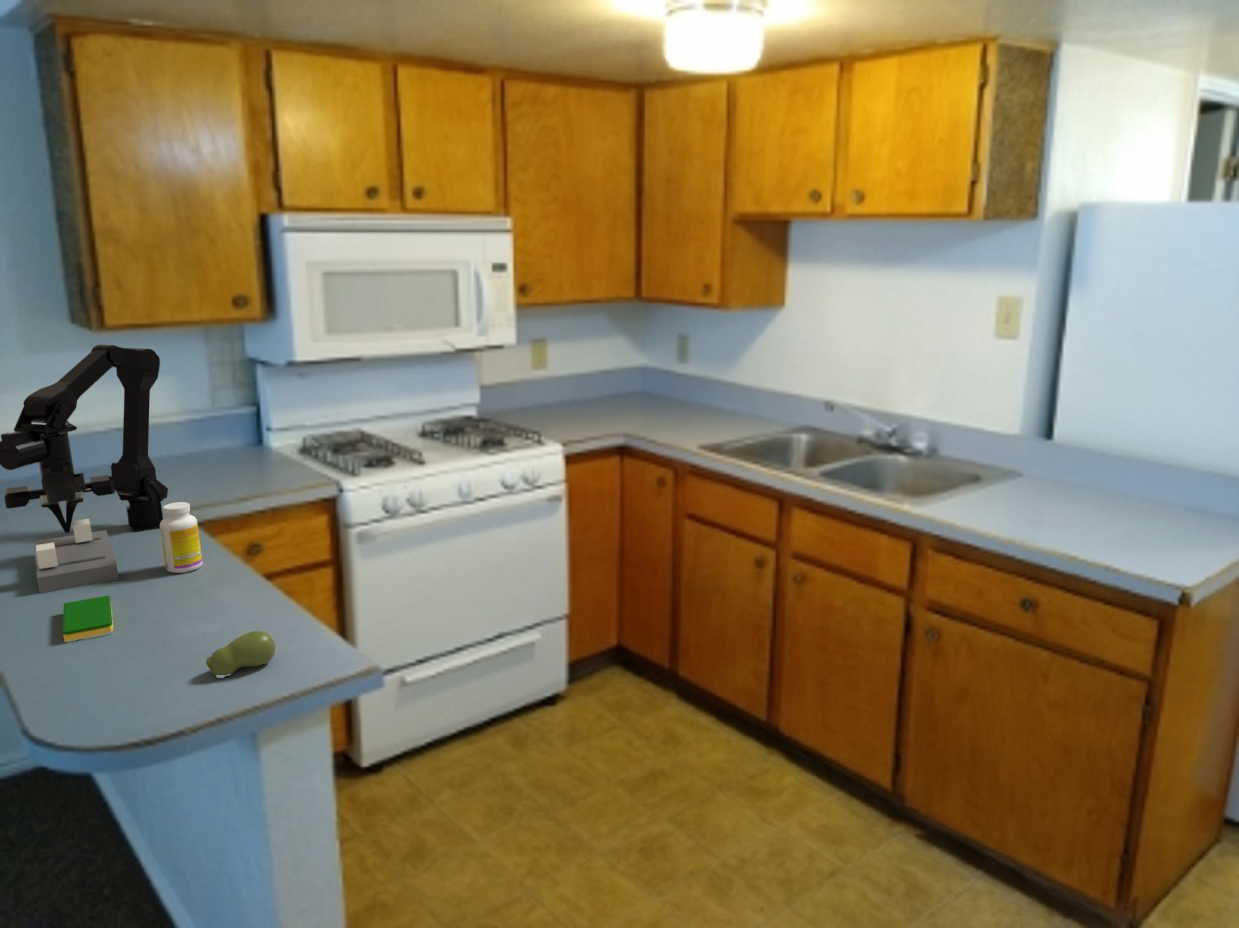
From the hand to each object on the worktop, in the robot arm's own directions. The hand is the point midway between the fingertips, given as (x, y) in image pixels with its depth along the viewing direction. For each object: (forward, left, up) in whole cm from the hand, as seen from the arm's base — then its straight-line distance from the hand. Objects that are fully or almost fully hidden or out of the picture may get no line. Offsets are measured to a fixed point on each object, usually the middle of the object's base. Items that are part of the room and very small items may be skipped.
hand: (67, 532), depth 191 cm
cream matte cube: (-3, 0, -2) cm, 3 cm away
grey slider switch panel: (0, +7, -5) cm, 9 cm away
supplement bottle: (-18, +19, -6) cm, 27 cm away
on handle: (+4, +13, -2) cm, 14 cm away
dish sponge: (-1, +39, -6) cm, 39 cm away
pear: (-20, +70, -6) cm, 73 cm away
